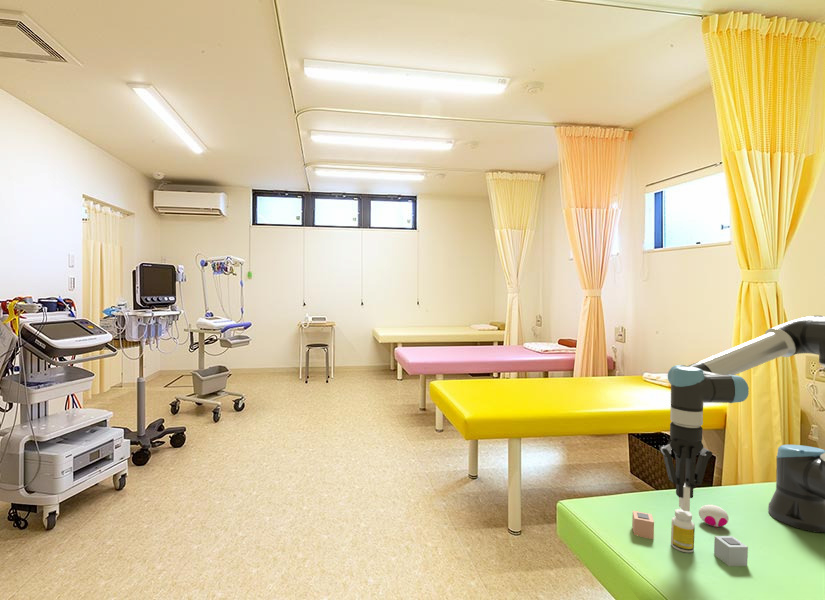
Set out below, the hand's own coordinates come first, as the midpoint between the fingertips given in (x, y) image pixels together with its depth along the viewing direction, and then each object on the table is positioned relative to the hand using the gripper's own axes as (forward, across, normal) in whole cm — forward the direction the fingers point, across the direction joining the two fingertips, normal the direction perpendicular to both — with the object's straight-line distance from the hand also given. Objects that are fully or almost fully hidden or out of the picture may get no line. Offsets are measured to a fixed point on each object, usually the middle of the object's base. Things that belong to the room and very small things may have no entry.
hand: (684, 508), depth 118 cm
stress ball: (+11, -15, -14) cm, 23 cm away
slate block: (+11, -10, +4) cm, 15 cm away
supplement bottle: (+11, 0, 0) cm, 11 cm away
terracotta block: (+11, +8, -6) cm, 15 cm away
